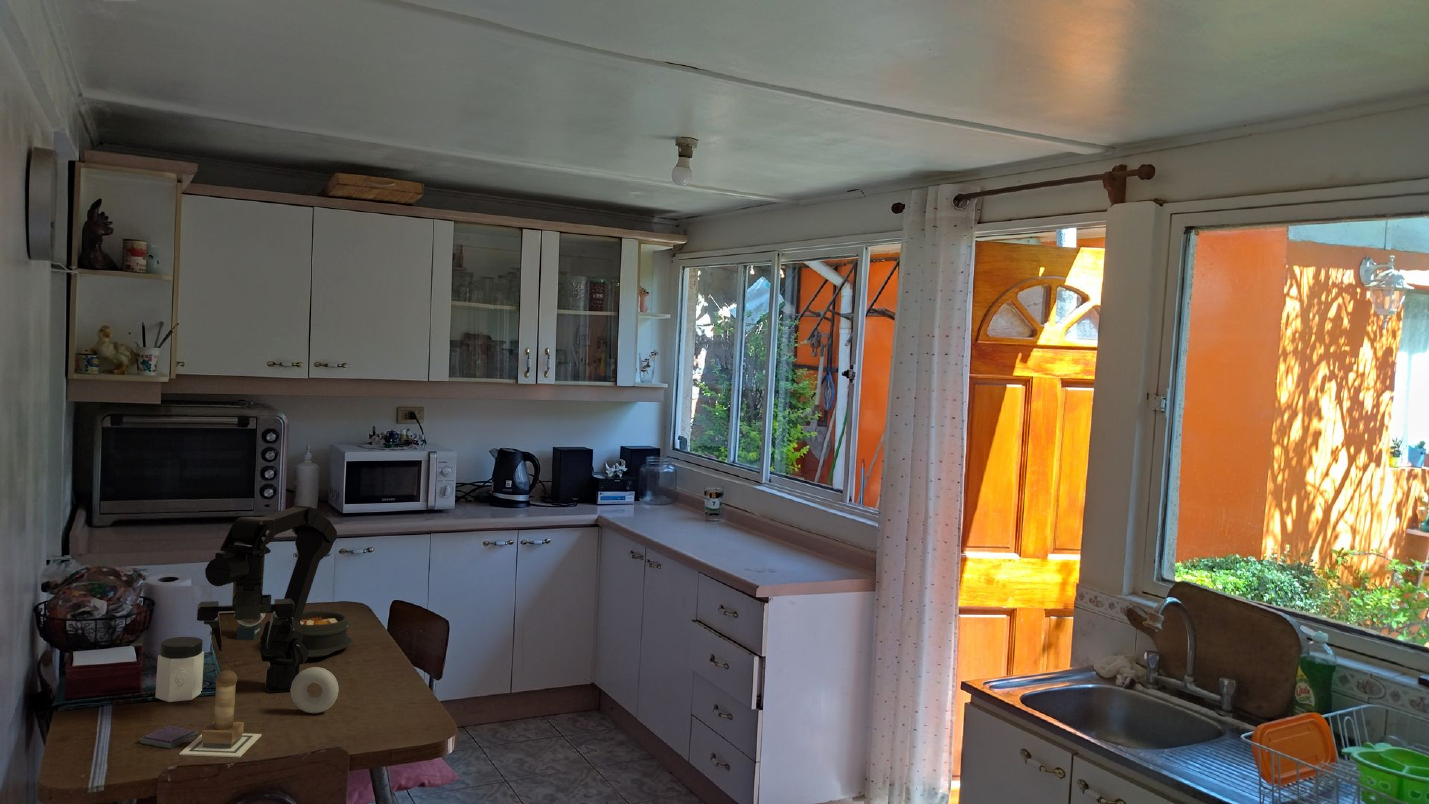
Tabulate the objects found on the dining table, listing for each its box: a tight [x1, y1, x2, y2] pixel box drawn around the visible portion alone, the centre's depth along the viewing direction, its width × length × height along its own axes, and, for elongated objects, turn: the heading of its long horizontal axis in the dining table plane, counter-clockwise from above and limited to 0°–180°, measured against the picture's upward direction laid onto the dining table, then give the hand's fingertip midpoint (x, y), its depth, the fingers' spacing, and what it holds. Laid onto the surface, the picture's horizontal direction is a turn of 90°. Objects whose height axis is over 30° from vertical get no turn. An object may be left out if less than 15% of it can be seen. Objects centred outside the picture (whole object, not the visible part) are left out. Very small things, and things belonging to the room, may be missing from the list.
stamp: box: [201, 669, 245, 749], centre depth 190 cm, size 6×6×14 cm
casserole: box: [300, 610, 353, 658], centre depth 254 cm, size 25×19×8 cm
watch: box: [233, 613, 267, 641], centre depth 260 cm, size 6×8×11 cm
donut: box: [289, 666, 340, 714], centre depth 210 cm, size 10×4×10 cm, turn 94°
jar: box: [154, 636, 205, 703], centre depth 214 cm, size 9×8×12 cm
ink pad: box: [139, 725, 199, 749], centre depth 191 cm, size 7×7×1 cm
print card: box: [178, 732, 262, 758], centre depth 190 cm, size 11×11×1 cm
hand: (244, 649), depth 209 cm, fingers open, 9 cm apart
